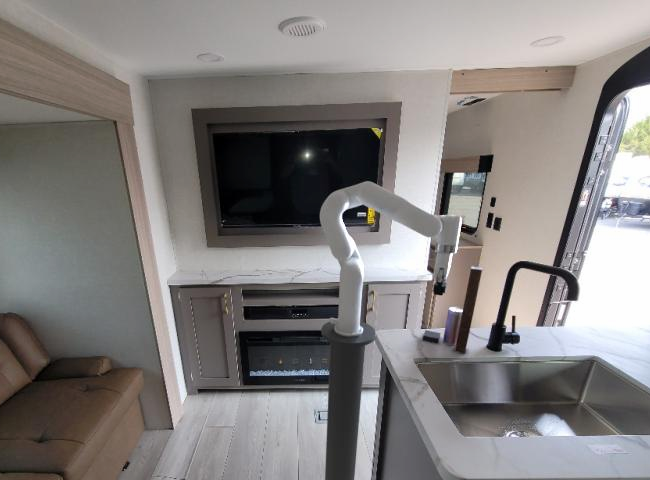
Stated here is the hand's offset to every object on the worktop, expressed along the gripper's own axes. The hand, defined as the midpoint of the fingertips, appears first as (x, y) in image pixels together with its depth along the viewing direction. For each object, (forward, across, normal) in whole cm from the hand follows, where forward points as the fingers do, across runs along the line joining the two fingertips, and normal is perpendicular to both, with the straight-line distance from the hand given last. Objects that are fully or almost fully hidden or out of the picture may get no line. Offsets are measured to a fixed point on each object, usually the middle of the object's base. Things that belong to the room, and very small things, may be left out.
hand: (439, 292), depth 131 cm
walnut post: (+21, +4, +11) cm, 24 cm away
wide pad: (+21, 0, 0) cm, 21 cm away
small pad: (-1, 0, 0) cm, 1 cm away
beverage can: (+22, -1, +7) cm, 23 cm away
